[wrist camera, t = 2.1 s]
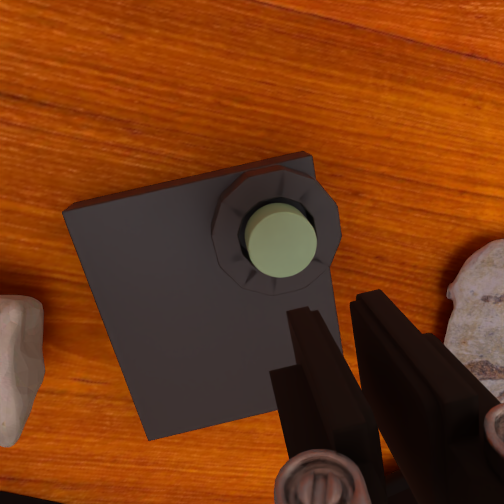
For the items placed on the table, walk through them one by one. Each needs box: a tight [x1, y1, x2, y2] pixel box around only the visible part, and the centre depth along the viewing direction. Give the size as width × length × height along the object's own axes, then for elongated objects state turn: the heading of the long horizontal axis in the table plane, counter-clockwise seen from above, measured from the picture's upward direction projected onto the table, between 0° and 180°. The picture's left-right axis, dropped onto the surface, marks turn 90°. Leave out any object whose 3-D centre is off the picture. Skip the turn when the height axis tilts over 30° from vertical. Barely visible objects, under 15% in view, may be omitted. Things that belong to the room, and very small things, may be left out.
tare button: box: [245, 203, 317, 278], centre depth 19 cm, size 3×3×2 cm
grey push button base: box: [62, 151, 343, 441], centre depth 22 cm, size 14×12×4 cm
